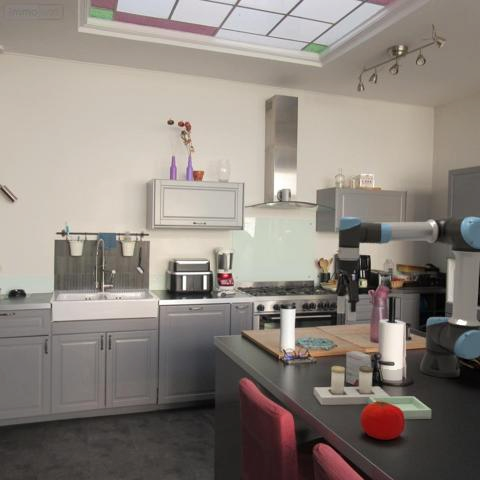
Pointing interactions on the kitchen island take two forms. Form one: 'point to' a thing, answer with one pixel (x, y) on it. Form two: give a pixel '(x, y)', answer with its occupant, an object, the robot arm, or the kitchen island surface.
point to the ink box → (355, 365)
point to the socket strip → (344, 391)
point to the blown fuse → (365, 380)
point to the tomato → (382, 420)
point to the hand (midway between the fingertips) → (346, 317)
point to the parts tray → (406, 406)
